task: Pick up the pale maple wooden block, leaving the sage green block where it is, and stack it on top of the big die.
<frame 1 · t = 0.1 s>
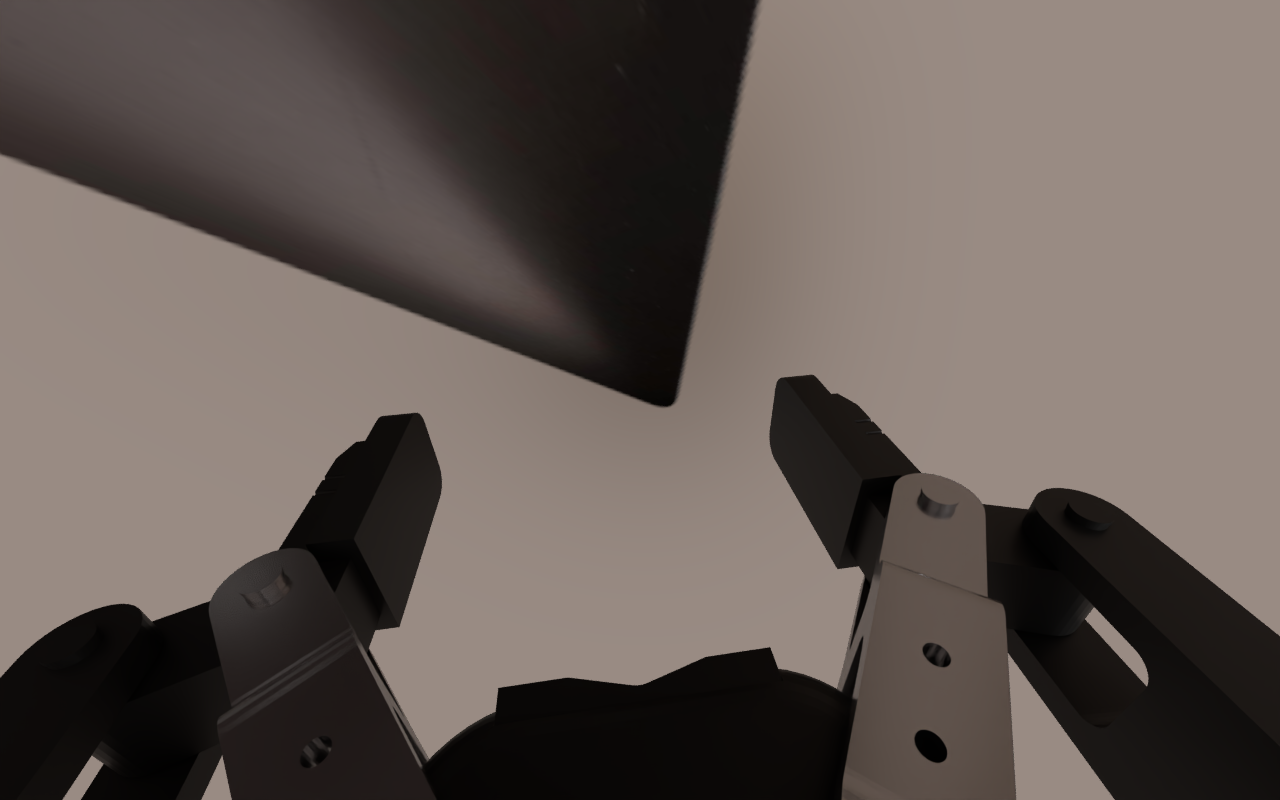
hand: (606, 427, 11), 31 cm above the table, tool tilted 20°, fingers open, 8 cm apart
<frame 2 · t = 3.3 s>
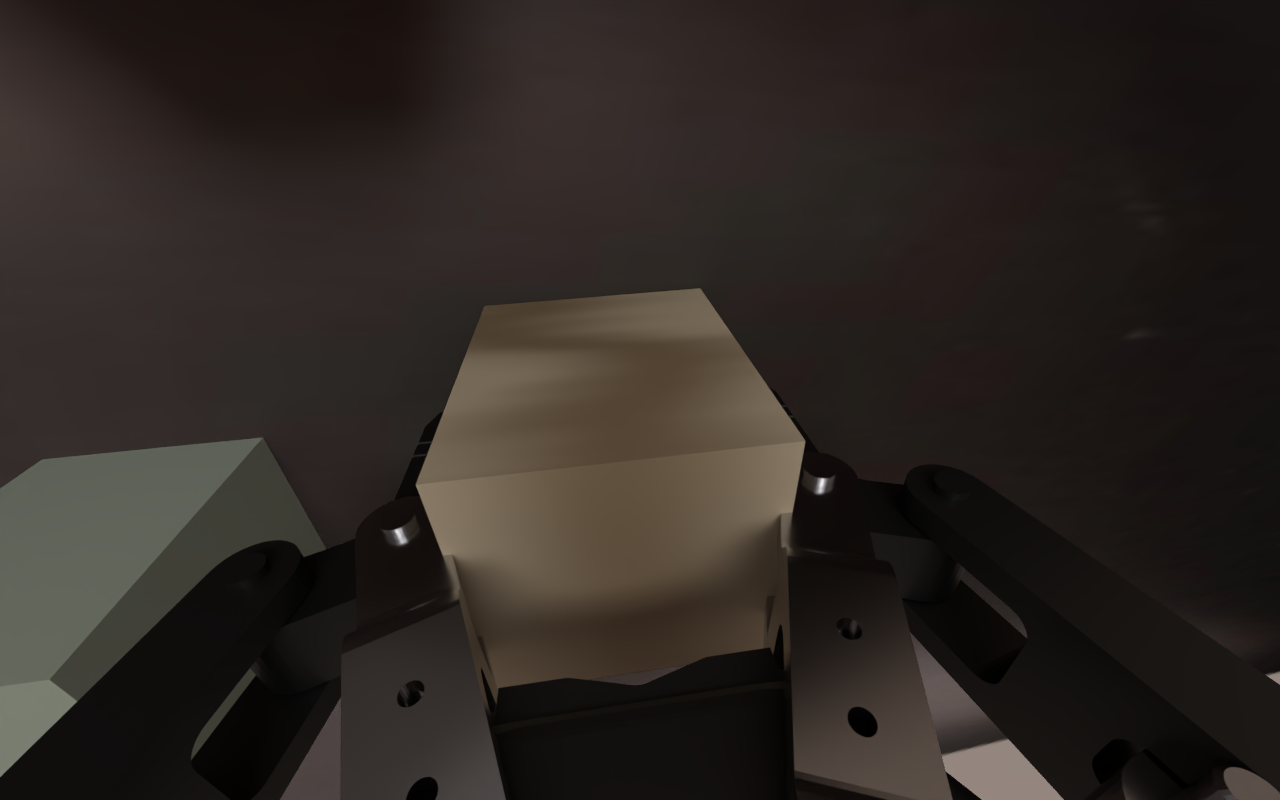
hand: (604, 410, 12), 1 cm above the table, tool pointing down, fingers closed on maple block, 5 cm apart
maple block: (602, 389, 13), on the table, touching gripper
sage block: (208, 519, 13), on the table
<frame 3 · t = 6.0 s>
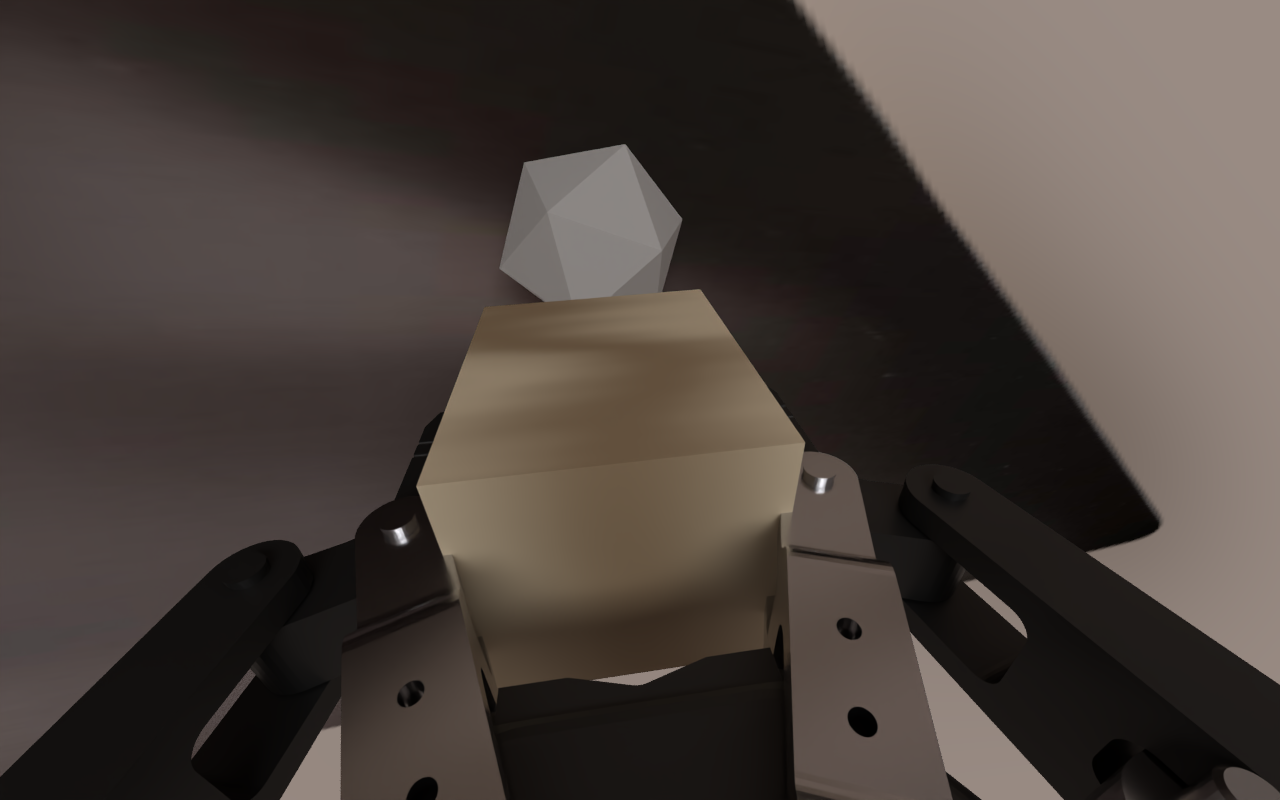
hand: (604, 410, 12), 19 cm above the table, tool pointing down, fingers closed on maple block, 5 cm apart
maple block: (603, 389, 13), point 18 cm above the table, touching gripper
die: (591, 225, 28), on the table
when the fingers open (10 cm above the table, at t = 8.6 s): maple block drops 2 cm, resting on die.
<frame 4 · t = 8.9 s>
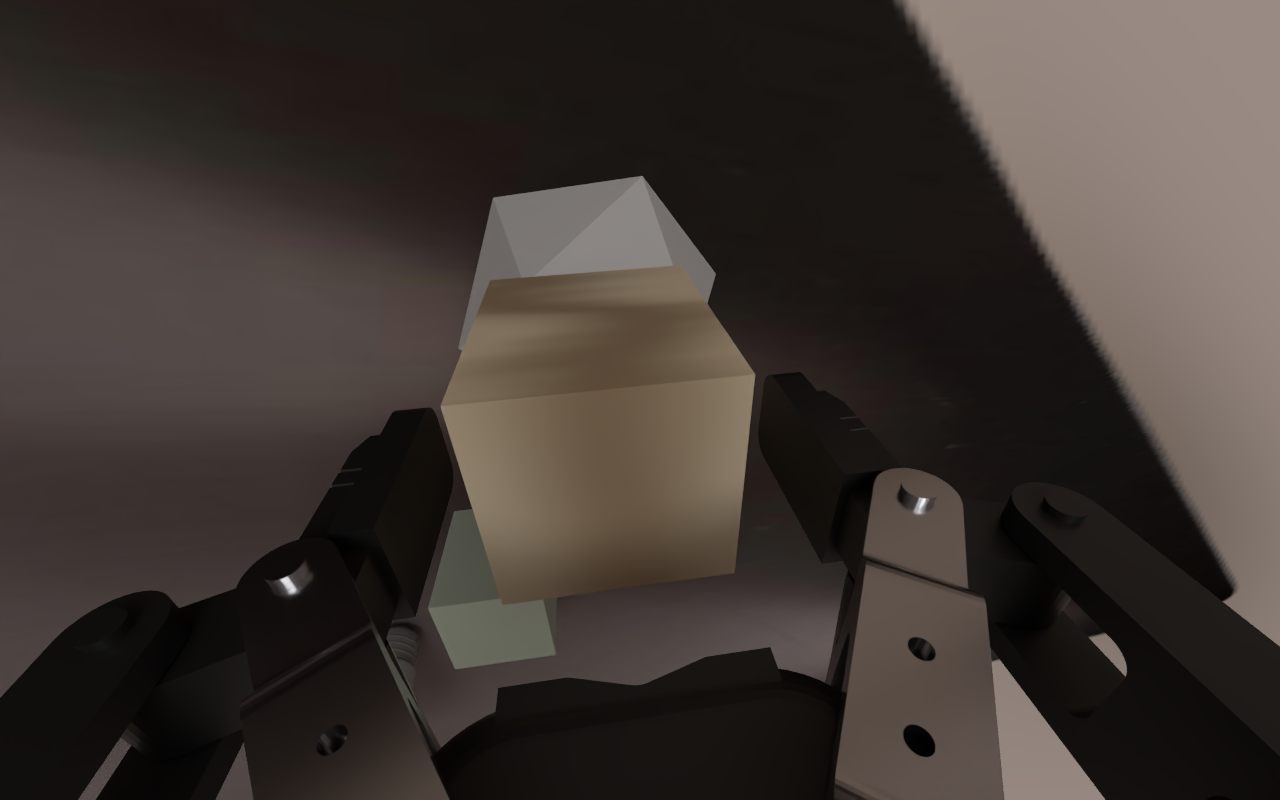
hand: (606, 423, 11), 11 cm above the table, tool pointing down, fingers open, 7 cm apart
maple block: (595, 357, 14), point 8 cm above the table, touching die
lightbulb: (402, 625, 31), on the table
die: (588, 273, 21), on the table, touching maple block
sage block: (508, 536, 28), on the table
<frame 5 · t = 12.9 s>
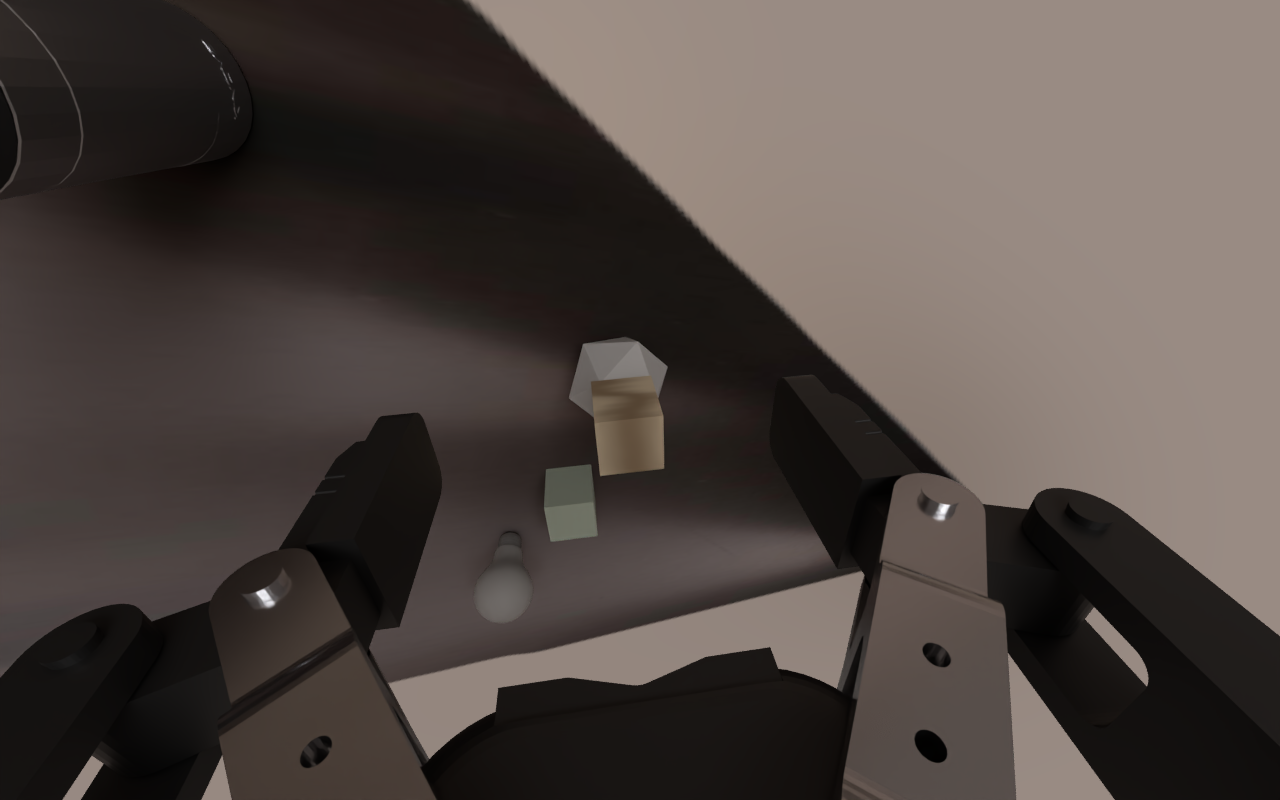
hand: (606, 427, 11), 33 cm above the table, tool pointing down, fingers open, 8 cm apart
maple block: (622, 403, 41), point 8 cm above the table, touching die
lightbulb: (511, 533, 58), on the table
die: (615, 361, 48), on the table, touching maple block
sage block: (571, 483, 55), on the table
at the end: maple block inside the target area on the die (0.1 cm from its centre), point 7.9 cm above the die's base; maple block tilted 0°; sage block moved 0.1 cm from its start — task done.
